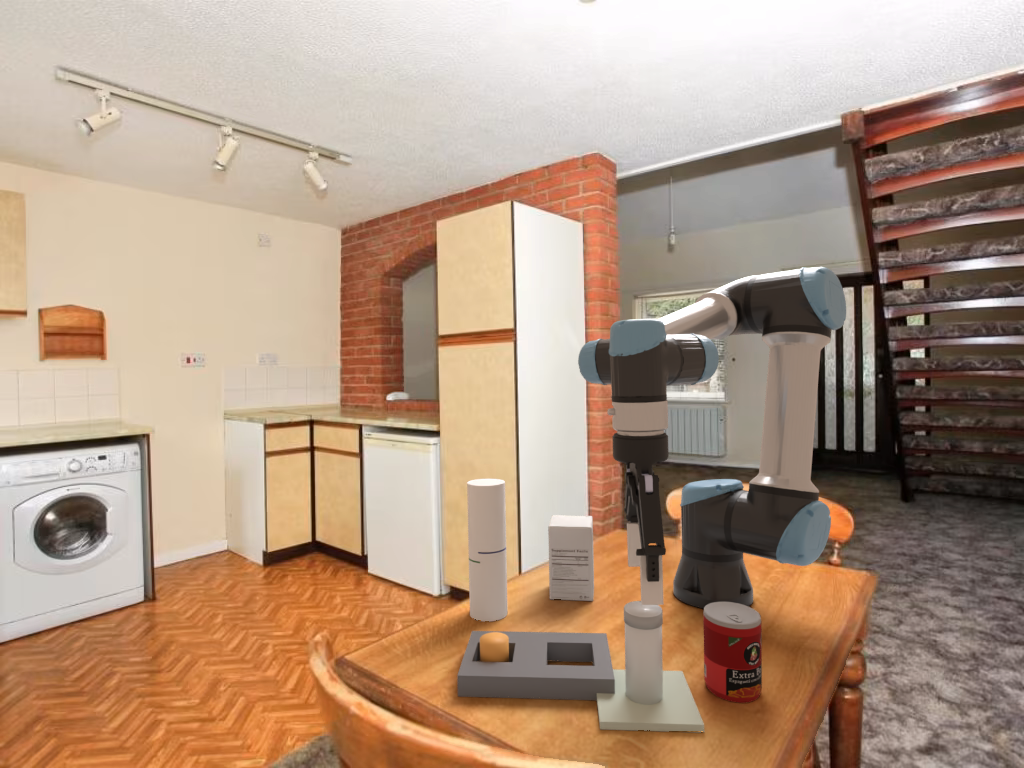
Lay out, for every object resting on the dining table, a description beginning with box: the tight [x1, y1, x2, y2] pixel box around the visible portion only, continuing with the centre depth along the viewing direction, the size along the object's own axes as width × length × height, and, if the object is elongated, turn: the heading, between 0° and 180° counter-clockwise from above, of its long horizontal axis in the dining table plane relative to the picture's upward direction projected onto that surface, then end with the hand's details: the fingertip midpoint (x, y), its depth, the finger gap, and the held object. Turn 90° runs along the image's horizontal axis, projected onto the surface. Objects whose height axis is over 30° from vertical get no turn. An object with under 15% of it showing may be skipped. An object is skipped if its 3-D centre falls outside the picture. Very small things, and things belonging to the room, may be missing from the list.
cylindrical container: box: [466, 478, 508, 622], centre depth 109 cm, size 7×7×25 cm
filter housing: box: [456, 630, 615, 701], centre depth 88 cm, size 22×14×3 cm, turn 85°
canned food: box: [702, 602, 763, 704], centre depth 82 cm, size 8×8×11 cm
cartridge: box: [623, 600, 664, 705], centre depth 80 cm, size 5×5×12 cm
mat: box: [596, 668, 705, 733], centre depth 80 cm, size 13×13×1 cm
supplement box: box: [547, 514, 595, 602], centre depth 119 cm, size 9×9×15 cm
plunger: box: [479, 632, 509, 662], centre depth 88 cm, size 4×4×4 cm
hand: (644, 583), depth 81 cm, fingers open, 13 cm apart
